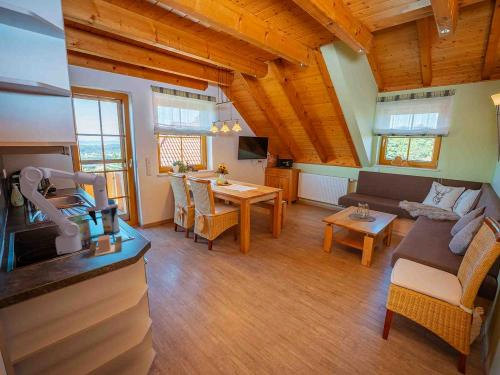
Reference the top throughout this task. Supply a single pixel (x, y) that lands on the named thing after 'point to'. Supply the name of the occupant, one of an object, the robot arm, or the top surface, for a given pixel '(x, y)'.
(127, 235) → the top surface
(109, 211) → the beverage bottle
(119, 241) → the walnut pocket board
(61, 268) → the top surface
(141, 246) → the top surface
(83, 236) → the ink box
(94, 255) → the cream square
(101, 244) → the terracotta block
